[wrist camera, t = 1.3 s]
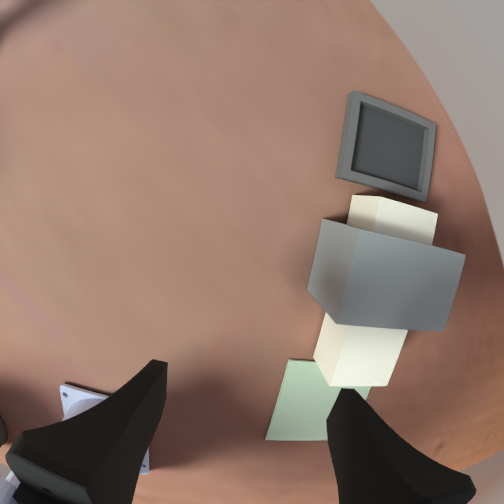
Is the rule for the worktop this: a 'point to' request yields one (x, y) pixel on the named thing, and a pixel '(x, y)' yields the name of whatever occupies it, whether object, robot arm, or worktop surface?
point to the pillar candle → (2, 433)
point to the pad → (304, 403)
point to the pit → (386, 148)
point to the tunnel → (383, 279)
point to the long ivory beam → (370, 338)
